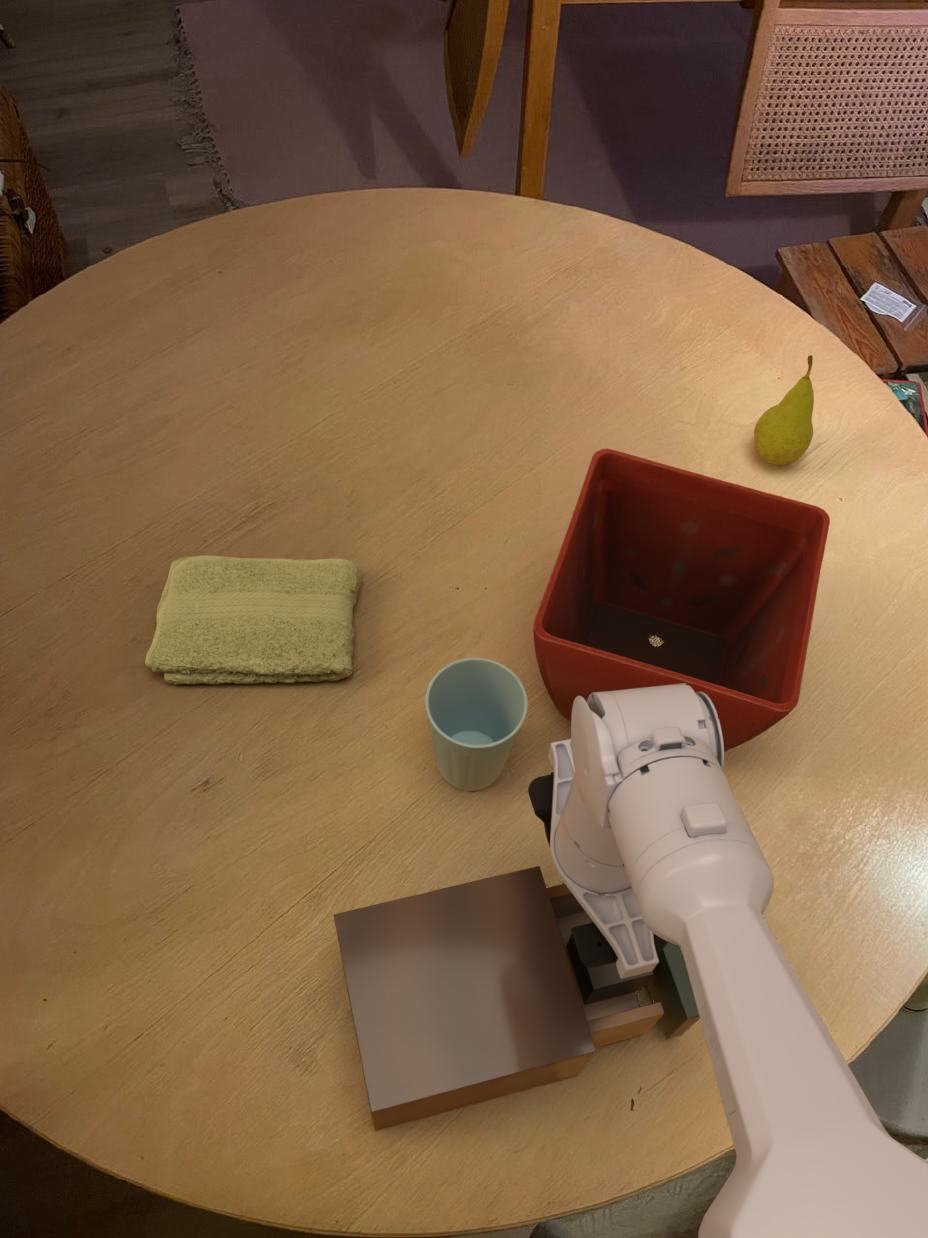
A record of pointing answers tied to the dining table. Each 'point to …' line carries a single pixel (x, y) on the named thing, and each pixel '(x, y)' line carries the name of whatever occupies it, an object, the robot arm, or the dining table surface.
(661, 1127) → the dining table surface
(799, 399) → the fruit
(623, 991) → the block
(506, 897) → the cabinet
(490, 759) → the cup
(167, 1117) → the dining table surface
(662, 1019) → the drawer
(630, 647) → the flower pot
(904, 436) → the dining table surface
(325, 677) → the washcloth
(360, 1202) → the dining table surface
